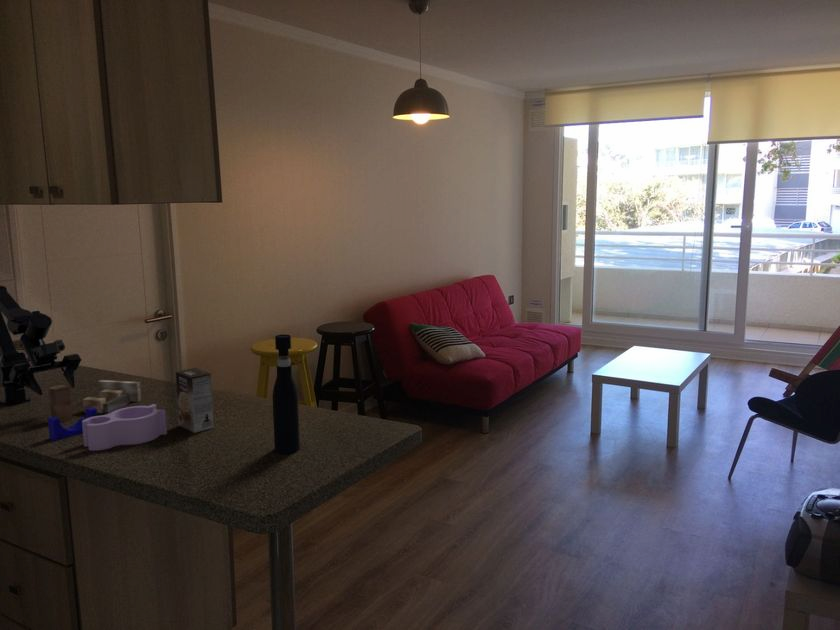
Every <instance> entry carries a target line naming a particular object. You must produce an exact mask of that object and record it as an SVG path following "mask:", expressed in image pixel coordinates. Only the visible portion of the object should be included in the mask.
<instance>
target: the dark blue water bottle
mask: <svg viewBox="0 0 840 630" xmlns="http://www.w3.org/2000/svg"><path fill="white" fill-rule="evenodd" d="M274 341H275V342H274V343H275V346H274V347H275V350H277V351H278V358H277V360H276V362H277V364H276V378H275V382H274V385H273V389H272V390H273V391H272V396H271V397H272V413H273V414H272V416H273V417H272V418H273V440H274V451H275V452H276V453H277V454H283V455H286V454H293V453H296V452H298V451H299V450H300V447H301V446H300V445H301V443H300V421H299V420H300V419H299V394H298V390H297V386H296V382H295V380H294V377H293V372H292V371H293V369H292V364H291V358H290V357H289V356H290V354H289V353H290V352H289V350H290V349H292V337H291V335H290V334H277V335H275V336H274Z"/></svg>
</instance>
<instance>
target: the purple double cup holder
mask: <svg viewBox="0 0 840 630" xmlns="http://www.w3.org/2000/svg"><path fill="white" fill-rule="evenodd" d="M82 427H83V433H82V435H83V436H82V437H83V447H88V451H103V450H108V449H111V448H113V447H117V446H131V445H139V444H143V443H144V444H145V443H148V442H150V441H154V440H155V439H157V438H159V436H161V435H162V436H163V435H164V436H165V435H168V427H167V412H166V409H157V404H155V403H154V404H153V403H152V404H150V405H134V406H133V405H132V406H127V407H121V408H119V409H117V410H115V411H113V412H111V413H109V414H102V415H97V416H94V417H90V418H87V419H85V420H83V421H82Z"/></svg>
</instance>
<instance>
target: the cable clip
mask: <svg viewBox="0 0 840 630" xmlns="http://www.w3.org/2000/svg"><path fill="white" fill-rule="evenodd" d="M94 416H98V413H97V409H95V408H92V407H90V408H86V412H85V414H84V416H83V417H81V418H79V420H78V421H77V422H75V423H74V424H73V425H71V426H69V427H68V428H65V427H63V426H62V423H60V422H59V419H58V418H55V417H51V416H50V417H47V425H48V435H49V439H50V440H52V441H54V442H56V441H60V440H64V439H68V438H70V437H74V436H79V435H81V434H82V435H83V427H82V421H83V420H85V419H87V418H90V417H94Z"/></svg>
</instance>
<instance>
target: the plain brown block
mask: <svg viewBox="0 0 840 630" xmlns="http://www.w3.org/2000/svg"><path fill="white" fill-rule="evenodd" d="M47 388H48V397H49V408H50V418H51V417H55V418H58V419H59V422H60V424H62V423H65V422H69V421H73V413H72V403H71V394H70V392H71V391H70V386H67V385H65V384H60V385H55V386H50V387H47Z"/></svg>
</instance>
